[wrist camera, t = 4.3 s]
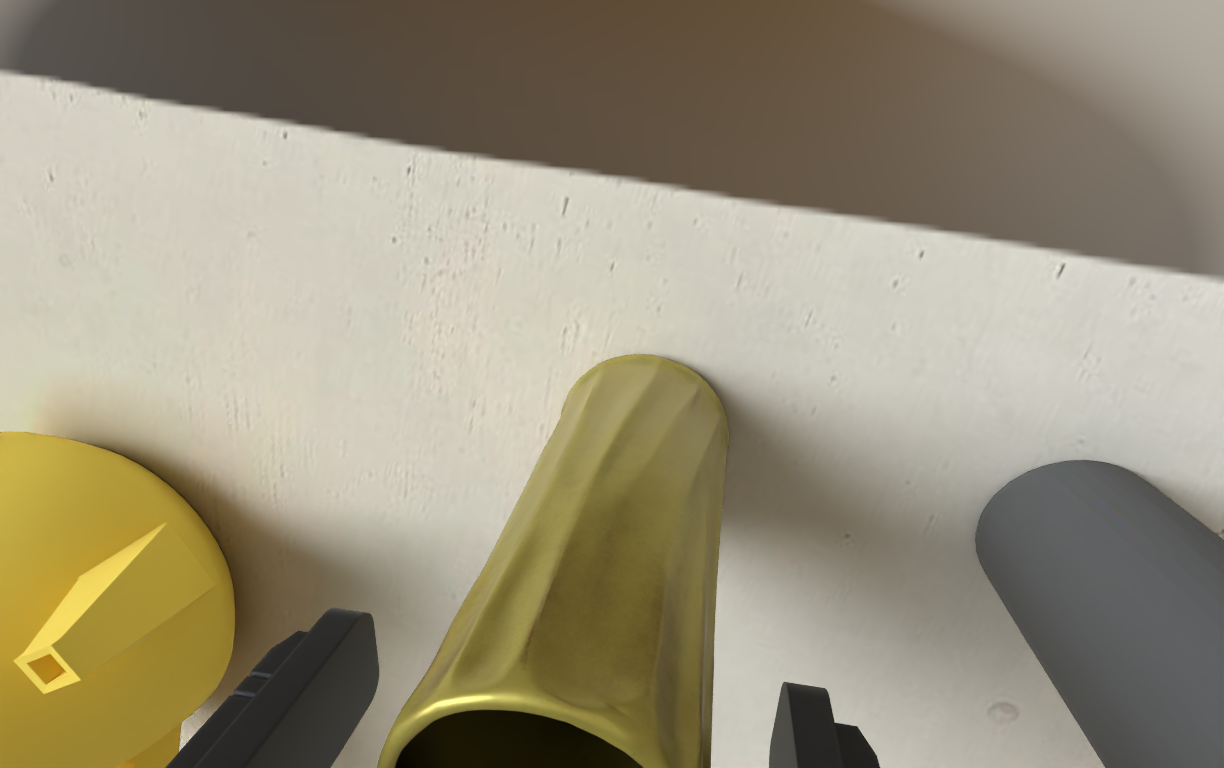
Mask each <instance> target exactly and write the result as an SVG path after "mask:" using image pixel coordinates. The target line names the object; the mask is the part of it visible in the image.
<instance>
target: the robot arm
mask: <svg viewBox="0 0 1224 768" xmlns="http://www.w3.org/2000/svg"><path fill="white" fill-rule="evenodd" d="M378 680H379V663H378V655H377V646H376V637H375V629H374V621H373V617H372V615H371V614H370V613H365V612H359V611H353V610H346V609H340V608H331V609H329V610H328V611H326V612H325V613H324V615H323V616H322V617H321V618H320V619H319V620H318V622H317V623H316V624H315V625H314V626H313V627H312V629H311V630H310V631H309V632H303V631H298V632H296V633H295V634H293V635H292V636H290V637H289V638H287V639H286V640H284V641H283V642H281V643H279V644H278V645H276V646H275V647H273V648H272V649H271V650H270V651H269V652H268V653H267V654H266V656H265V657H264V658H263V659H262V660H261V661H260V662H259V663H258V664H257V666H256V667H255V668H254V669H253V670H252V671H251V675H250V676H247V677H246V678H245V679H244V680H243V681H242V682H241V683H240V685H239V686H238V687H237V688H236V689H235V690H234V694H233V695H232V696H231V695H230V696H229V697H228V698H227V699H226V700H225V701H224V702H223V704H222V705H221V706H220V707H219V708H218V709H217V710H216V711H215V712H214V714H213V715H212V716H211V717H210V718H209V719H208V720H207V721H206V723H205V724H204V725H203V726H202V727H201V728H200V729H199V730H198V731H197V733H196V734H195V735H194V736H193V737H192V738H191V739H190V740H189V742H188V743H187V744H186V745H185V746H184V747H183V748H182V749H181V750H180V752H179V753H178V754H177V755H176V756H175V757H174V758H173V759H172V761H171V762H170V763H169V764H168V765H167V766H166V767H165V768H331V766H332V765H333V763H334V761H335V760H336V758H337V757H338V755H339V754H340V752H341V750H342V749H343V747H344V746H345V744H346V742H347V741H348V739H349V738H350V736H351V734H352V733H353V731H354V730H355V728H356V726H357V725H358V723H359V722H360V720H361V718H362V717H363V715H364V714H365V712H366V710H367V709H368V707H369V706H370V704H371V702H372V700H373V697H374V695H375V692H376V689H377V685H378ZM769 768H880V766H879V763H878V759H877V755H876V754H875V752H874V751H873V749H872V748H871V746H870V745H869V743H868V742H867V740H866V739H865V737H864V736H863V734H862V733H861V731H860V730H859V728H858V727H857V726H851V725H845V724H839V723H834V718H833V713H832V708H831V703H830V698H829V694H828V692H827V690H826V689H825V688H819V687H813V686H807V685H800V684H794V683H788V682H784V683H783V685H782V688H781V693H780V698H779V703H778V708H777V713H776V718H775V723H774V728H773V733H772V738H771V745H770V756H769Z"/></svg>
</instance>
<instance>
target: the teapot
mask: <svg viewBox="0 0 1224 768" xmlns="http://www.w3.org/2000/svg"><path fill="white" fill-rule="evenodd" d="M234 631H235V602H234V588H233V583H232V578H231V574H230V571H229V568H228V565H227V562H226V560H225V557H224V555H223V553H222V551H221V549H220V547H219V545H218V543H217V542H216V540H215V538H214V537H213V535H212V533H211V532H210V530H209V529H208V527H207V526H206V525H205V523H204V522H203V521H202V519H201V518H200V516H199V515H198V514H197V513H196V512H195V510H194V509H193V508H192V507H191V506H190V505H189V504H188V503H187V502H186V501H185V499H184V498H182V497H181V496H180V495H179V494H178V493H177V492H176V491H175V490H174V489H173V488H172V487H171V486H169V485H168V484H167V483H165V482H164V481H163V480H162V479H160V478H159V477H158V476H156V475H155V474H153V473H152V472H150V471H149V470H147V469H146V468H144V467H142V466H141V465H139V464H137V463H136V462H134V461H132V460H130V459H128V458H126V457H124V456H122V455H119V454H117V453H114V452H112V451H109V450H106V449H103V448H99V447H96V446H93V445H89V444H85V443H82V442H78V441H74V440H70V439H65V438H61V437H55V436H49V435H43V434H36V433H29V432H0V768H165V767H166V766H167V765H168V764H169V763H170V762H171V761H172V759H173V758H174V757H175V756H176V755H177V754H178V753H179V745H180V733H181V723H182V722H183V721H184V720H185V719H187V718H188V717H189V716H191V715H192V714H193V713H194V712H195V711H196V710H197V709H198V708H199V707H200V706H201V705H202V704H203V703H204V702H205V701H206V700H207V699H208V698H209V697H210V695H211V694H212V693H213V692H214V691H215V690H216V688H217V687H218V685H219V683H220V681H221V679H222V677H223V675H224V673H225V671H226V669H227V667H228V664H229V661H230V658H231V654H232V650H233V641H234Z"/></svg>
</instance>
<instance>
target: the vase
mask: <svg viewBox="0 0 1224 768" xmlns="http://www.w3.org/2000/svg"><path fill="white" fill-rule="evenodd" d="M728 448H729V434H728V424H727V418H726V414H725V411H724V409H723V406H722V404H721V402H720V400H719V399H718V397H717V395H716V394H715V393H714V391H713V390H712V388H711V387H710V386H709V385H708V383H707V382H706V381H705V380H704V379H703V378H702V377H701V376H699V375H698V374H696V373H695V372H694V371H692V370H690V369H689V368H687V367H685V366H683V365H681V364H679V363H677V362H674V361H671V360H668V359H665V358H662V357H658V356H654V355H646V354H633V355H625V356H620V357H615V358H612V359H609V360H606V361H604V362H602V363H600V364H598V365H596V366H595V367H593V368H592V369H590V370H589V371H588V372H587V373H585V374H584V375H583V376H582V377H581V378H580V379H579V380H578V381H577V382H576V383H575V385H574V386H573V388H572V389H571V390H570V392H569V394H568V396H567V398H566V401H565V403H564V406H563V408H562V412H561V418H560V420H559V422H558V424H557V426H556V428H555V430H554V432H553V434H552V436H551V437H550V439H549V441H548V442H547V444H546V446H545V448H544V450H543V451H542V453H541V455H540V457H539V459H538V461H537V463H536V465H535V468H534V470H533V472H532V474H531V476H530V478H529V480H528V482H527V484H526V486H525V488H524V490H523V492H522V494H521V496H520V498H519V500H518V502H517V504H516V506H515V507H514V509H513V511H512V513H511V515H510V517H509V519H508V521H507V523H506V525H505V527H504V529H503V531H502V533H501V535H500V537H499V539H498V541H497V543H496V545H495V547H494V549H493V551H492V553H491V555H490V557H489V559H488V561H487V563H486V565H485V567H484V569H483V571H482V573H481V574H480V576H479V577H478V579H477V581H476V582H475V584H474V585H473V587H472V589H471V590H470V592H469V594H468V595H467V597H466V599H465V600H464V602H463V604H462V606H461V607H460V609H459V611H458V613H457V615H456V616H455V618H454V620H453V622H452V624H451V626H450V628H449V630H448V632H447V634H446V636H445V638H444V640H443V642H442V644H441V647H440V649H439V651H438V653H437V655H436V657H435V659H434V660H433V662H432V664H431V666H430V668H429V669H428V671H427V672H426V674H425V675H424V677H423V679H422V680H421V682H420V683H419V685H418V686H417V688H416V689H415V690H414V692H413V693H412V695H411V696H410V698H409V699H408V701H407V702H406V704H405V705H404V706H403V708H402V710H401V712H400V713H399V715H398V717H397V719H396V721H395V722H394V724H393V726H392V728H391V730H390V732H389V734H388V736H387V739H386V741H385V744H384V746H383V749H382V751H381V754H380V757H379V760H378V764H377V768H711V739H712V703H713V675H714V632H715V609H716V591H717V574H718V560H719V546H720V530H721V516H722V505H723V492H724V478H725V460H726V454H727V451H728Z"/></svg>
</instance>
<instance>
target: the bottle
mask: <svg viewBox="0 0 1224 768" xmlns="http://www.w3.org/2000/svg"><path fill="white" fill-rule="evenodd" d="M975 542H976V551H977V555H978V558H979V561H980V563H981V566H982V568H983V570H984V572H985V574H986V575H987V577H988V579H989V580H990V582H991V584H992V585H993V587H994V588H995V590H996V592H997V593H998V595H999V597H1000V598H1001V600H1002V602H1003V603H1004V605H1005V607H1006V608H1007V610H1008V612H1009V613H1010V615H1011V617H1012V618H1013V620H1014V622H1015V623H1016V625H1017V626H1018V628H1019V630H1020V631H1021V633H1022V635H1023V636H1024V638H1025V640H1026V641H1027V643H1028V644H1029V646H1030V648H1031V649H1032V651H1033V652H1034V654H1035V656H1036V657H1037V659H1038V660H1039V662H1040V664H1041V665H1042V667H1043V668H1044V670H1045V672H1046V673H1047V675H1048V676H1049V678H1050V680H1051V681H1052V683H1053V684H1054V686H1055V688H1056V689H1057V691H1058V692H1059V694H1060V696H1061V697H1062V699H1063V700H1064V702H1065V704H1066V705H1067V707H1068V708H1069V710H1070V712H1071V713H1072V715H1073V716H1074V718H1075V720H1076V721H1077V723H1078V724H1079V726H1080V728H1081V729H1082V731H1083V732H1084V734H1085V736H1086V737H1087V739H1088V740H1089V742H1090V744H1091V745H1092V747H1093V748H1094V750H1095V752H1096V753H1097V755H1098V756H1099V758H1100V760H1101V761H1102V763H1103V764H1104V766H1105V768H1224V540H1223V539H1222V538H1220V537H1219V536H1218V535H1217V534H1215V533H1214V532H1213V531H1211V530H1210V529H1209V528H1207V527H1206V526H1205V525H1204V524H1202V523H1201V522H1200V521H1198V520H1197V519H1196V518H1194V517H1193V516H1192V515H1190V514H1189V513H1188V512H1187V511H1185V510H1184V509H1183V508H1181V507H1180V506H1179V505H1177V504H1176V503H1175V502H1174V501H1172V500H1171V499H1170V498H1168V497H1167V496H1166V495H1164V494H1163V493H1162V492H1160V491H1159V490H1158V489H1156V488H1155V487H1154V486H1152V485H1151V484H1149V483H1148V482H1146V481H1145V480H1143V479H1142V478H1141V477H1139V476H1138V475H1136V474H1134V473H1133V472H1130V471H1128V470H1126V469H1124V468H1122V467H1118V466H1115V465H1112V464H1108V463H1104V462H1097V461H1089V460H1080V461H1065V462H1059V463H1054V464H1050V465H1046V466H1042V467H1039V468H1037V469H1034V470H1031V471H1029V472H1027V473H1025V474H1023V475H1021V476H1020V477H1018V478H1016V479H1014V480H1013V481H1011V482H1009V483H1008V484H1007V485H1006V486H1005V487H1004V488H1002V489H1001V490H1000V491H999V492H998V493H997V494H996V495H995V496H994V497H993V498H992V499H991V500H990V502H989V503H988V505H987V506H986V508H985V510H984V511H983V513H982V515H981V517H980V520H979V523H978V527H977V531H976V539H975Z"/></svg>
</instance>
